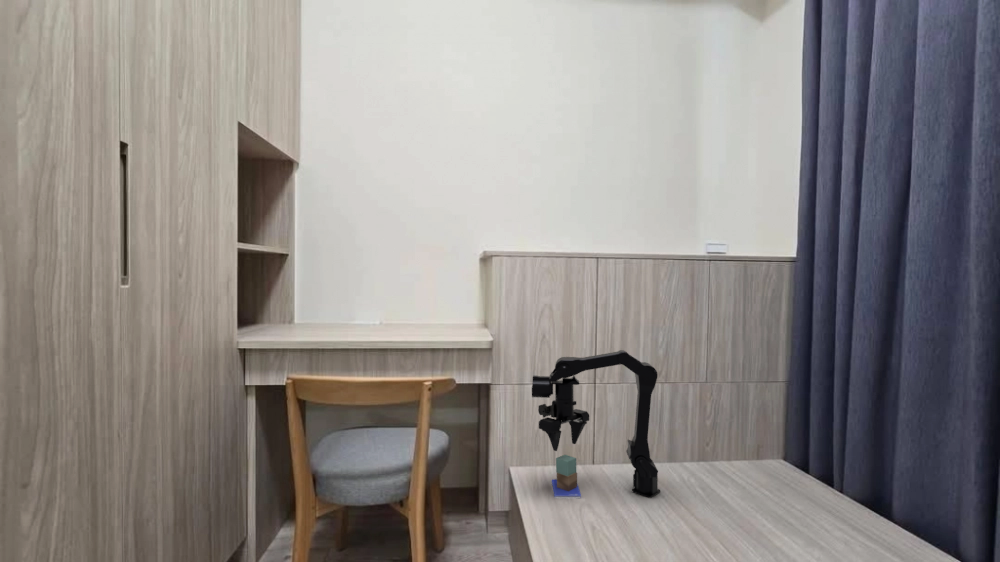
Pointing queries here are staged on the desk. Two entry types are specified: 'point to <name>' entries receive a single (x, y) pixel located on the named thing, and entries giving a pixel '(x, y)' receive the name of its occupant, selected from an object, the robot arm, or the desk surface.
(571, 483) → the walnut cube
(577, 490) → the hard drive
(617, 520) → the desk surface
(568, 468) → the teal cube
